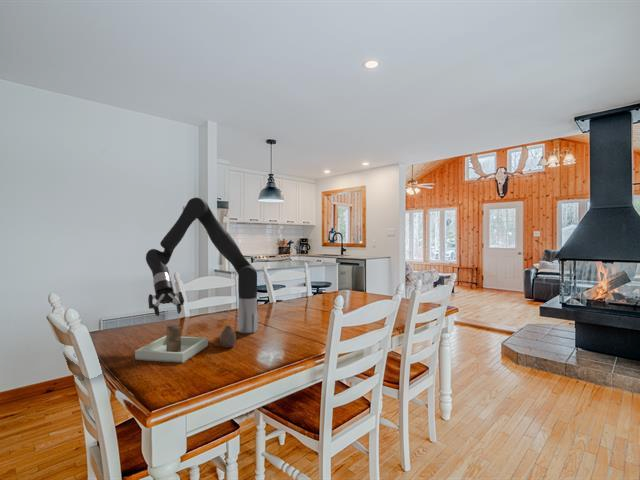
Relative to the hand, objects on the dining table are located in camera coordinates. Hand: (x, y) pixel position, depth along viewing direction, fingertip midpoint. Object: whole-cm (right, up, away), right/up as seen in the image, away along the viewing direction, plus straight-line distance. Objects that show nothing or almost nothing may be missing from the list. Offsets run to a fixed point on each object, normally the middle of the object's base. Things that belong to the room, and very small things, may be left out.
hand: (168, 313), depth 145 cm
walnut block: (+5, -14, -7) cm, 16 cm away
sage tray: (+5, -15, -7) cm, 17 cm away
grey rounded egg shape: (+25, -15, +2) cm, 29 cm away
